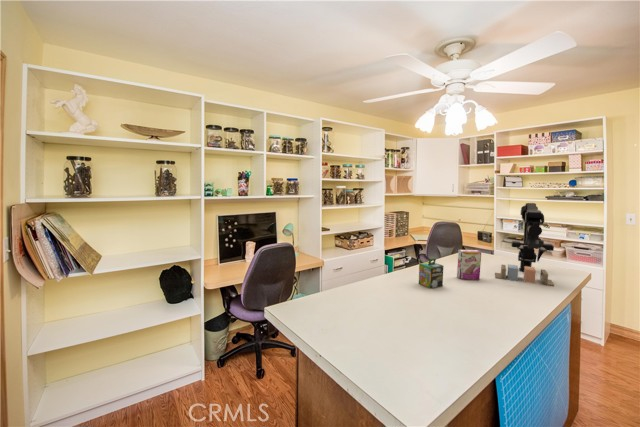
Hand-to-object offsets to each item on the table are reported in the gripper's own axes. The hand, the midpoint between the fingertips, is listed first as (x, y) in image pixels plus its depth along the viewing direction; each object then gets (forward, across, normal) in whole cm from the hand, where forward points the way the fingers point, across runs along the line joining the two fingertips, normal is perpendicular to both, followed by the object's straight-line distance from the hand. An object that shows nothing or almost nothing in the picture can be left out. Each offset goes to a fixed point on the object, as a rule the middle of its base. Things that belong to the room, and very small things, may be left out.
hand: (530, 260), depth 162 cm
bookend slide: (+11, +8, 0) cm, 14 cm away
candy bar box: (+12, -30, -13) cm, 35 cm away
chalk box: (+12, -47, -35) cm, 60 cm away
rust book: (+12, 0, 0) cm, 12 cm away
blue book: (+12, -8, 0) cm, 14 cm away
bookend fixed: (+11, -14, 0) cm, 18 cm away
